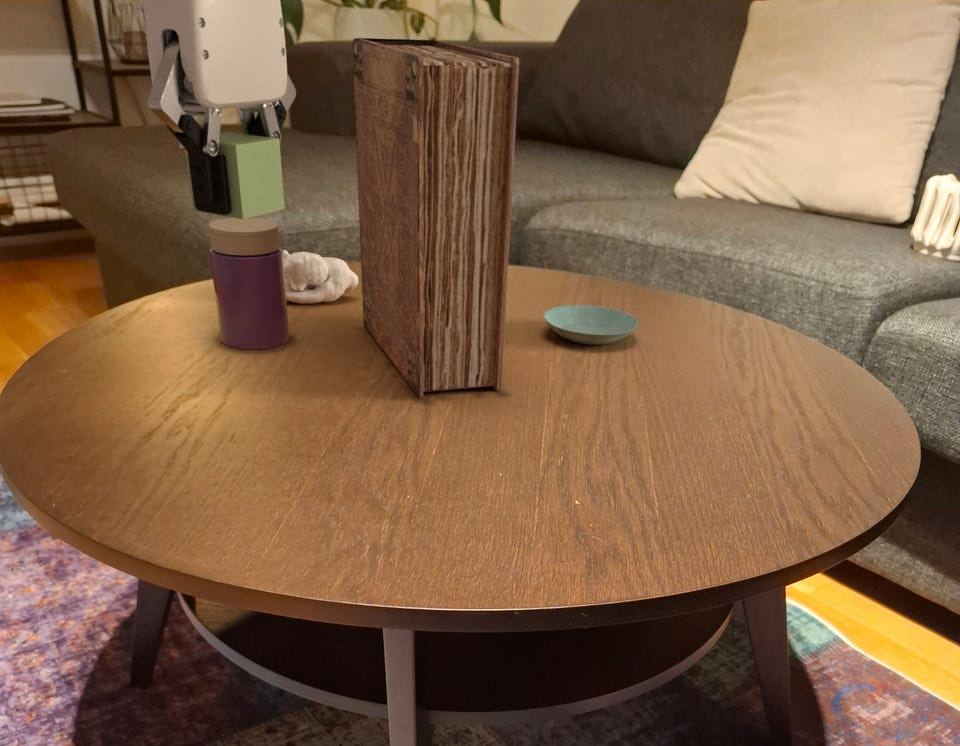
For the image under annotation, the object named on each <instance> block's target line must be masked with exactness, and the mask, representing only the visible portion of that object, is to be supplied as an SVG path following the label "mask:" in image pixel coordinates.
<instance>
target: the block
mask: <svg viewBox="0 0 960 746" xmlns="http://www.w3.org/2000/svg"><path fill="white" fill-rule="evenodd" d="M281 154H282V153H281V143H280V141H279V139H277V138H270V137H263V136H255V135H248V134H244V133H242V132H241V133H240V132H233V131H224V132H220V142H219V152H218V154H217V155H224V156H225V157H226V166H227V175H228V184H229V193H230V203H231V213H230V214H227V215H219V214H214V213H208V212H203V211H198V210H197V209H196V208H195V205H194V198H193V190H192V182H191V175H190V167H189V159H188V153H186V152H185V158H186V167H187V172H188V173H187V174H188V179H189V180H188V181H189V188H190V196H191V203H192V204H191V205H192V210H193V211H194V212H199V213H206V214H211V215H216V216H221V217H225V218H237V219H248V218H257V217H260V216H263V215H268V214H272V213H277V212H280V211H281V212H282V211H285V207H286V206H285V196H284V195H285V194H284V182H283V168H282V158H281V157H282V156H281Z"/></svg>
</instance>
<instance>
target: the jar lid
mask: <svg viewBox="0 0 960 746" xmlns="http://www.w3.org/2000/svg"><path fill="white" fill-rule="evenodd" d="M208 230H209V231H208V232H209V238H210V239H209V240H210V248H212V249H213V250H214V251H216V252H219V253H223V254H229V255H261V254H267V253H272V252H275V251H277V250H278V249H279V248H280V247H281V243H280V232H279V224H278V223H277V221H274V220H272V219H267V218H262V217H252V218H248V219H237V218H232V217H225V218H219V219H216V220H212V221H210V222H209V223H208Z"/></svg>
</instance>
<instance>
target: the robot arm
mask: <svg viewBox="0 0 960 746" xmlns="http://www.w3.org/2000/svg"><path fill="white" fill-rule="evenodd" d="M143 11H144V23H145V25H144V26H145V34H146V35H145V36H146V46H147V55H148V63H149V72H150V79H151V84H152V86H151V88H150V91H149V93H148V97H147V106H148V109H150V111H151V112H152V113H153V114H155V116H156V117H158V119H159V120H161V122H163V123H164V124H165V125H166V126H167V129H168V130H169V132H170V133H171V134H172V135H173V136H174V137H175V139H176V140H177V141H178V145H179V148H180V150H181V152H183V153H185V154H186V153H188V159H189V167H190V175H191V182H192V190H193V198H194V205H195V208H196V209H197V210H198V211H197V212H199V211H203V212H202V213H204V212H208V213H207V214H210V213H214V214H213V215H215V214H219V215H218V216H221V215H227V214H230V213H231V203H230V193H229V184H228V175H227V166H226V157H225V156H224V155H217V154H218V152H219V142H220V133H221V126H222V124H221V123H222V112H223V111H222V110H223V109H229V108H230V109H232V108H235V109H236V111H237V115H238V118H239V122H240V126H241V129H242V132H243V133H242V134H248V135H255V136H263V137H270V138H277V139H279V141H280V144H281V143H282V133H281V130H282V128H283V126H284V124H285V121H286V119H287V113H288V112H289V111H290V108H291V106H292V105H293V103H294V101H295V99H296V97H297V90H296V87H295V85H294V83H293V81H292V79H291V77H290V75H289V73H288V63H287V61H288V60H287V48H286V47H287V46H286V35H285V26H284V19H283V11H282V4H281V0H143ZM255 113H257V114H256V115H255ZM199 116H200V117H201V116H202V117H203V120H202V123H203V124H202V127H201V125H200V124H199V122H198V119H199Z"/></svg>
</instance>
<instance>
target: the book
mask: <svg viewBox="0 0 960 746" xmlns="http://www.w3.org/2000/svg"><path fill="white" fill-rule="evenodd" d="M351 42H352V65H353V66H352V67H353V69H352V70H353V90H354V91H353V92H354V93H353V94H354V114H355V115H354V116H355V117H354V119H355V120H354V121H355V143H356V166H357V168H356V169H357V170H356V171H357V194H358V197H357V198H358V217H359V218H358V220H359V221H358V222H359V246H360V269H361V270H360V271H361V292H362V293H361V295H362V296H361V297H362V320H363V321H362V322H363V327H364V328H365V329H366V331H367V332H368V333H369V335H370V336H371V337H372V339H373V340H374V342H375V343H376V344H377V345H378V347H379V348H380V349H381V351H382V352H383V353H384V355H385V356H386V358H387V359H388V360H389V361H390V363H391V364H392V366H393V367H394V368H395V370H396V372H398V373H399V375H400V376H401V378H402V379H403V380H404V382H405V383H406V385H408V387H409V388H410V390H411V391H412V392H413V394H414V395H415V396H416V398H417V399H418V400H422V399H423V398H424V393H429V392H438V391H440V392H441V391H451V390H462V389H474V388H485V387H491V388H493V390H494V391H496V392H498V391H501V390H502V379H503V363H504V362H503V361H504V343H505V329H506V328H505V327H506V309H507V308H506V307H507V291H508V275H509V274H508V272H509V257H510V254H509V253H510V240H511V239H510V237H511V220H512V219H511V217H512V201H513V184H514V183H513V182H514V167H515V148H516V147H515V146H516V129H517V111H518V95H519V78H520V77H519V76H520V75H519V74H520V58H519V57H517V56H512V55H506V54H502V53H498V52H492V51H488V50H483V49H479V48H473V47H468V46H464V45H458V44H453V43H448V42H444V41H440V40H432V39H406V38H405V39H403V38H373V37H372V38H371V37H370V38H369V37H355V38H353V40H352V41H351Z"/></svg>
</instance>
